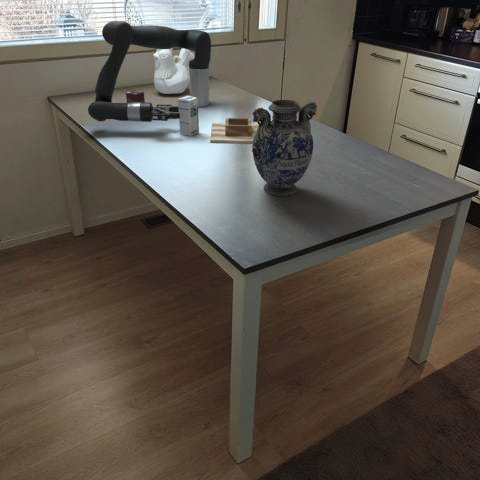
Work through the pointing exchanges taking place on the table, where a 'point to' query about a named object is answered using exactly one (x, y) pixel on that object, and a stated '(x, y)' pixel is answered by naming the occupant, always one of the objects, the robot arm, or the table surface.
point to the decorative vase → (283, 145)
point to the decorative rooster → (172, 71)
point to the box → (135, 96)
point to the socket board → (233, 131)
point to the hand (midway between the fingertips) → (180, 112)
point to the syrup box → (188, 115)
